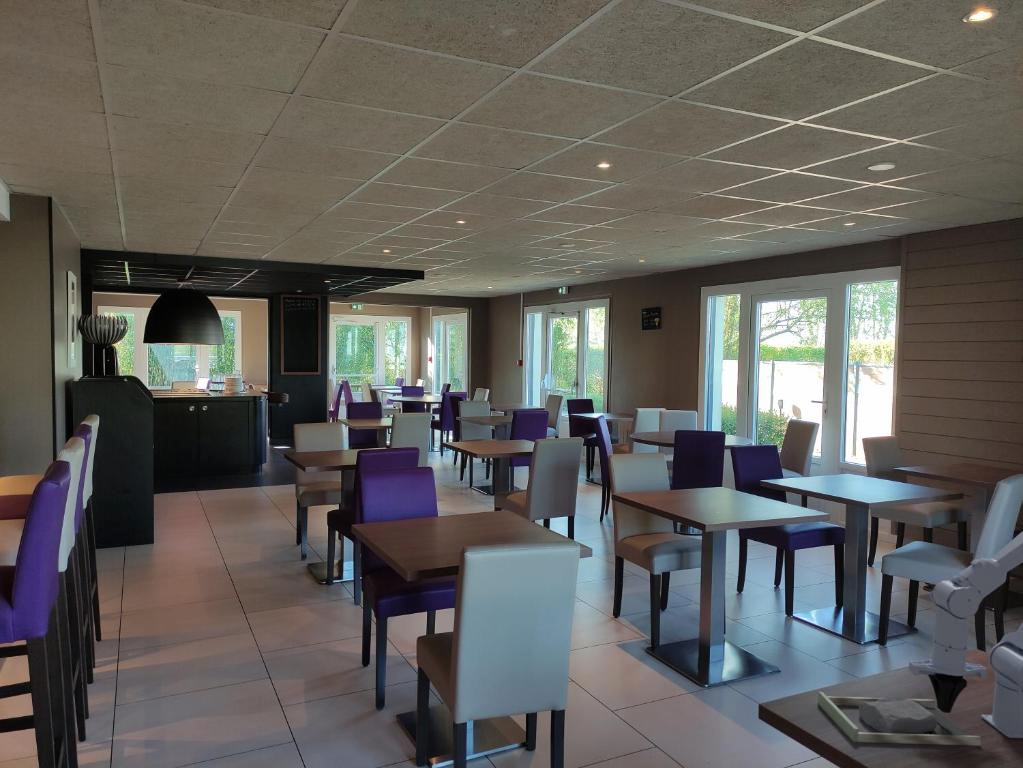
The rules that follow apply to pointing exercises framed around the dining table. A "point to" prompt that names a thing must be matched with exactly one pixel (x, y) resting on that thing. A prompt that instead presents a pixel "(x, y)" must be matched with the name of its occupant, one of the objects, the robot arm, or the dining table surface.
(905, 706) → the stone block
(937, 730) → the tiles
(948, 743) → the grey cream flat frame
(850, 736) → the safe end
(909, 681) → the dining table surface
